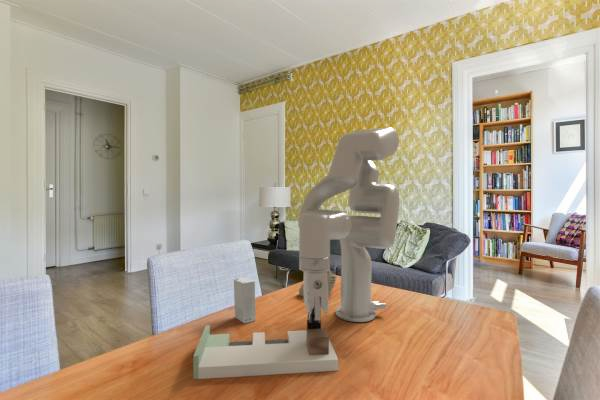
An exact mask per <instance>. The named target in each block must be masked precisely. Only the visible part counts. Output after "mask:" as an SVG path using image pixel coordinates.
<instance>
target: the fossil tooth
mask: <svg viewBox="0 0 600 400" xmlns="http://www.w3.org/2000/svg"><path fill="white" fill-rule="evenodd" d="M327 280H328V297H329V296H330V295H331V293H332V292H333V289H334V288H335V284H336V280H337V274H335V272H333V271H332V270H331V269H330V270H329V271H327ZM298 294H299V296H300V297H303V298H304V291H303V283H302V284H301V286H300V287H299V289H298Z"/></svg>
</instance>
